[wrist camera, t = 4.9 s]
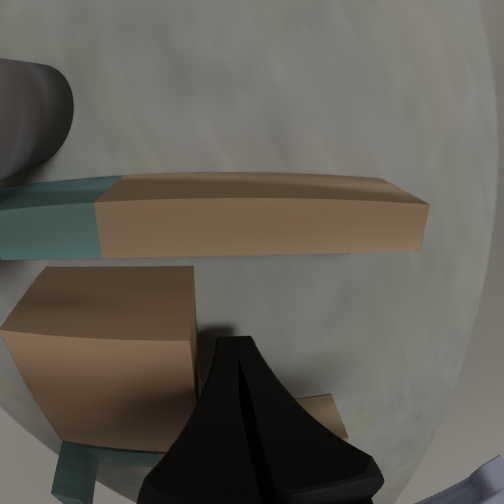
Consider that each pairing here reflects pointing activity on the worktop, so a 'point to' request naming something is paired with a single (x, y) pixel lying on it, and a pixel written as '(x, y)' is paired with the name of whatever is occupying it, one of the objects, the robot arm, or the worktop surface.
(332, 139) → the worktop surface
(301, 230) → the bay
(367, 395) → the worktop surface
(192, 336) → the brown wooden block
